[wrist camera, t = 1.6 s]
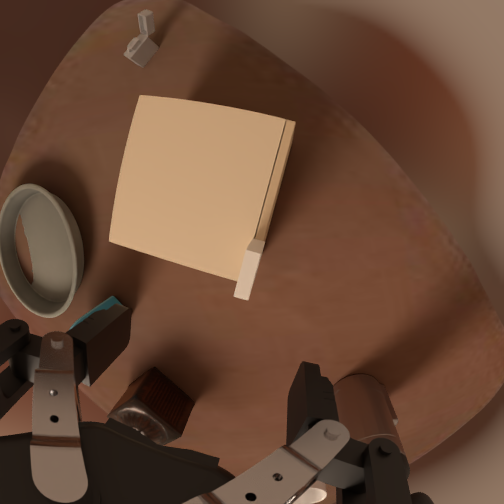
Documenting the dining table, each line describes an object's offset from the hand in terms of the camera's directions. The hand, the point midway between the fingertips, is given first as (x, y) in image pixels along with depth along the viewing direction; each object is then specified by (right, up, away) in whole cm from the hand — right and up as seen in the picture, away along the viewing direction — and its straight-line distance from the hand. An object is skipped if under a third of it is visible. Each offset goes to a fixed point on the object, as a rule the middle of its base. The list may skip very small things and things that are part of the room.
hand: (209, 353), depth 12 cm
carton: (-3, +14, +26) cm, 30 cm away
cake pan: (-37, +5, +32) cm, 49 cm away
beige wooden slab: (+5, +11, +25) cm, 28 cm away
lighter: (-13, +36, +23) cm, 44 cm away
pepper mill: (-14, -25, +36) cm, 46 cm away
